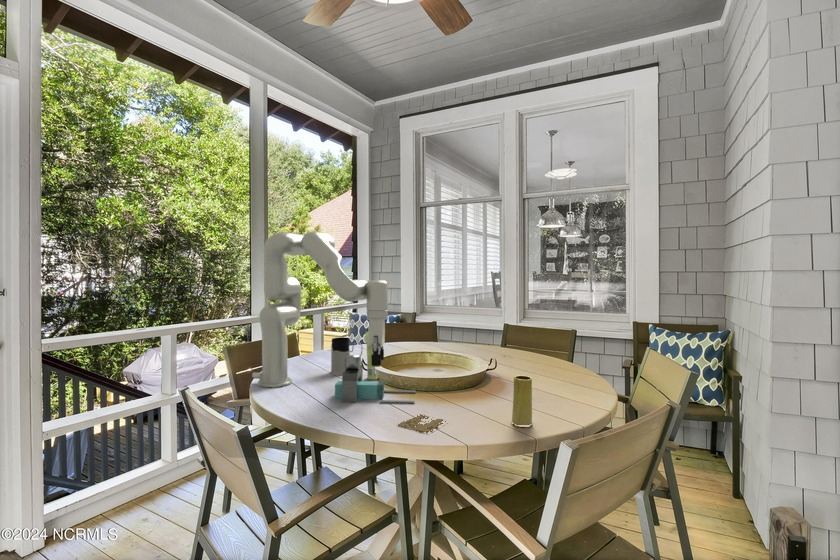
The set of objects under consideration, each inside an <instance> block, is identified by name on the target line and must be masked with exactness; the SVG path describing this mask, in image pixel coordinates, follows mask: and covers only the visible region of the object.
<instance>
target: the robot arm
mask: <svg viewBox="0 0 840 560" xmlns="http://www.w3.org/2000/svg"><path fill="white" fill-rule="evenodd" d="M335 246H336V244H335V240H334V238H333V236H331V235H330V234H329V233H326V232H320V231H308V232H306V233H305V234H303V233H302V234H301V233H294V232H287V231H285V232H283V231H282V232H276V233H273V234H271V235H270V236H269V237H268V238H267V239H266V240H265V243H264V247H263V258H264V259H263V260H264V275H263V277H264V279H263V282H264V284H263V285H264V287H263V291H264V292H263V293H264V297H266V298H267V299H268V300H270V301H280V302H278V303H271V304H267V305H265V306H264V307H263V308H261V310H260V311H259V315H258V316H259V319H258V320H259V324H260V329H261V351H262V352H261V359H262V360H261V368H262V369H261V372H252V374H251V377H252V378H253V380H255V379H256V380H257V379H259V380H258V381H257V385H258V387H261V386H263V387H262V388H268V387H272V388H279V387H280V388H281V386H282V387H285V386H288V385H290V384H292V381H293V379H292V378H290V377H288V335H287V332H286V329H285V327H288V326H292V325H294V324H296V323H297V322H298V321H299V320H300V317H301V312H302V311H301V308H302V286H301V283H300V281H299V280H298V279H297V277H295V276H292V275H288V262H287V260H286V257H285V256H286V255H289V256H309V257H310V258H311V259H312V260H313V261H314V262H315V263H316V264H317V265H318V266H319V267H320V268H321V270H322V271H323V273H324V276H325V279H326V282H327V284H328V286H329V287H330V288H331V289H332V290H333V292H334V293H336V295H338V296H339V298H341V299H342V300H343V301H346V302H349V303H350V302H358V301H364V300H366V320H368V321H369V322H368V332H369V344H368V347H369V348H371V347H372V354H371V358H372V366H380V367H381V365H382V363H381V362H382V361H384V359H385V354H384V353H385V352H384V350H385V349H384V345H385V342H386V341H385V340H386V339H385V337H386V336H385V335H386V323H385V321H386V320H389V319H388V318H389V298H388V295H389V294H388V289H389V288H388V282H387V281H386V280H382V279H381V280H380V279H379V280H367V279H351V278H350V277H349V276H348V275H347V274H346V273H345V272H344V271H343V269H342V268H341V263H342V261H343V257H342V255H341V254H340V253H339V252H338V251H337V250H336V249H335Z"/></svg>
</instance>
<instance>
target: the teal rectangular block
mask: <svg viewBox="0 0 840 560" xmlns="http://www.w3.org/2000/svg"><path fill="white" fill-rule="evenodd" d="M384 390H385V381H366V380H365V381H363V380H362V381H358V400H359V399H360V400H384V397H385V393H384ZM334 399H342V380H337V381H336V382H335V384H334Z"/></svg>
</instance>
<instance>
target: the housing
mask: <svg viewBox="0 0 840 560" xmlns="http://www.w3.org/2000/svg"><path fill="white" fill-rule="evenodd" d="M360 355H361V354H356V355H355V354H350V355H346V356H345V369H346V370H345V371H344V372H343V373H342V375H341V377H342V378H341V381H342V398H341V402H342V403H358V401H359V399H358V381H363V371H364V370H363V365H362V355H361V356H360Z"/></svg>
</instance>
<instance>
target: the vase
mask: <svg viewBox="0 0 840 560" xmlns="http://www.w3.org/2000/svg"><path fill="white" fill-rule="evenodd" d="M532 381H533V378H532V377H531V376H528V375H520V374H519V375H515V376H513V396H512V397H513V400H512V415H511V416H512V417H511V423H512V422H513V423H514V424H516V425H530V424H532V425H533V409H532V408H533V393H532V392H533V387H532V386H533V383H532Z"/></svg>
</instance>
